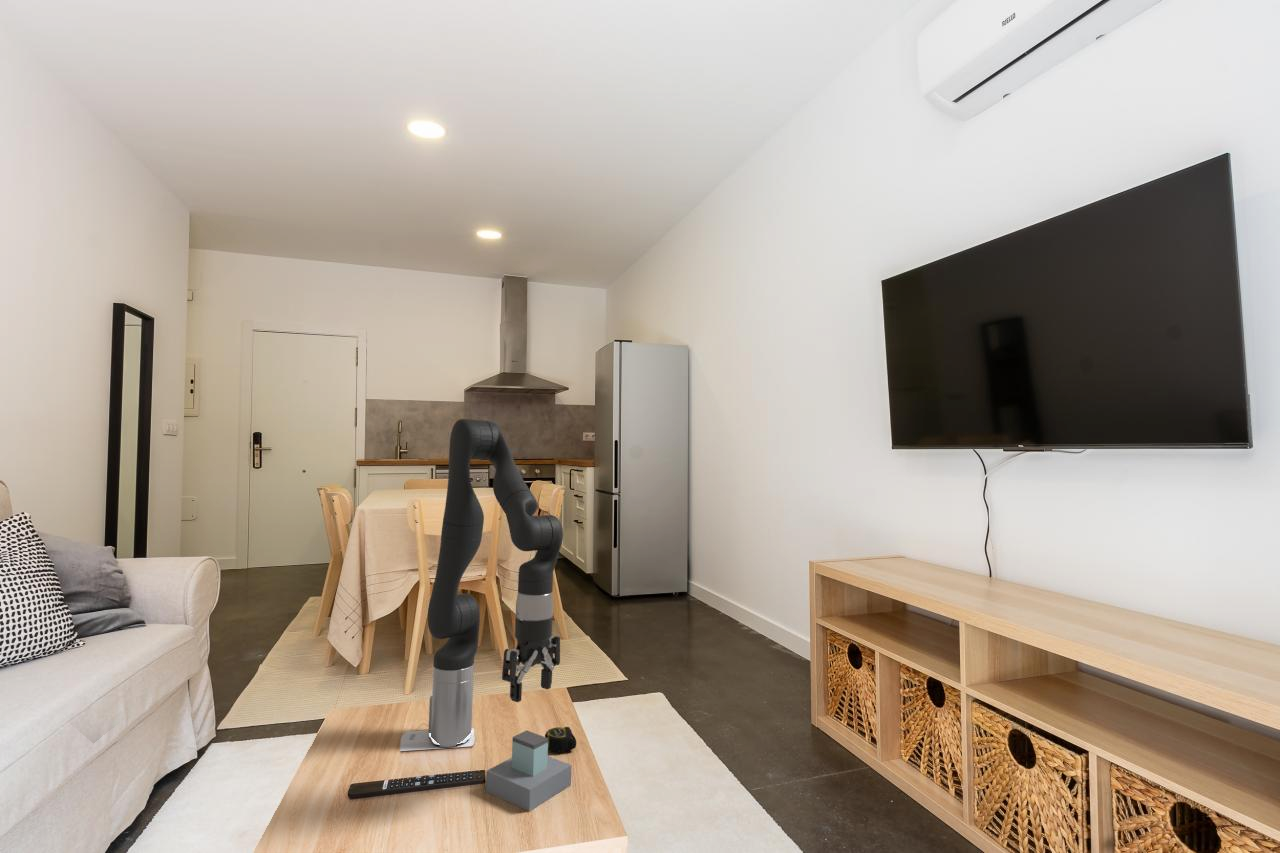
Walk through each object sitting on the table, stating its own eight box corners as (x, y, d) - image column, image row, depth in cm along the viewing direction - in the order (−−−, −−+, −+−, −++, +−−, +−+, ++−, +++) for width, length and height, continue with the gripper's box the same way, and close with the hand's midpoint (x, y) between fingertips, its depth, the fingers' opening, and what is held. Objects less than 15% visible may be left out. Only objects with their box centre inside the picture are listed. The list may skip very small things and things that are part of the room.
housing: (511, 767, 128) (512, 737, 128) (525, 759, 131) (526, 730, 132) (533, 776, 125) (534, 745, 125) (547, 768, 128) (548, 738, 128)
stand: (485, 791, 126) (486, 770, 126) (528, 767, 136) (528, 748, 136) (529, 811, 119) (530, 789, 120) (570, 785, 129) (571, 765, 130)
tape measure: (576, 753, 143) (577, 736, 143) (546, 757, 141) (547, 740, 141) (570, 740, 150) (571, 724, 150) (541, 743, 148) (542, 727, 148)
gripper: (544, 604, 137) (541, 680, 137) (495, 617, 125) (491, 700, 125) (571, 610, 133) (568, 688, 132) (522, 624, 121) (519, 710, 121)
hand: (531, 694), depth 129 cm, fingers open, 8 cm apart
